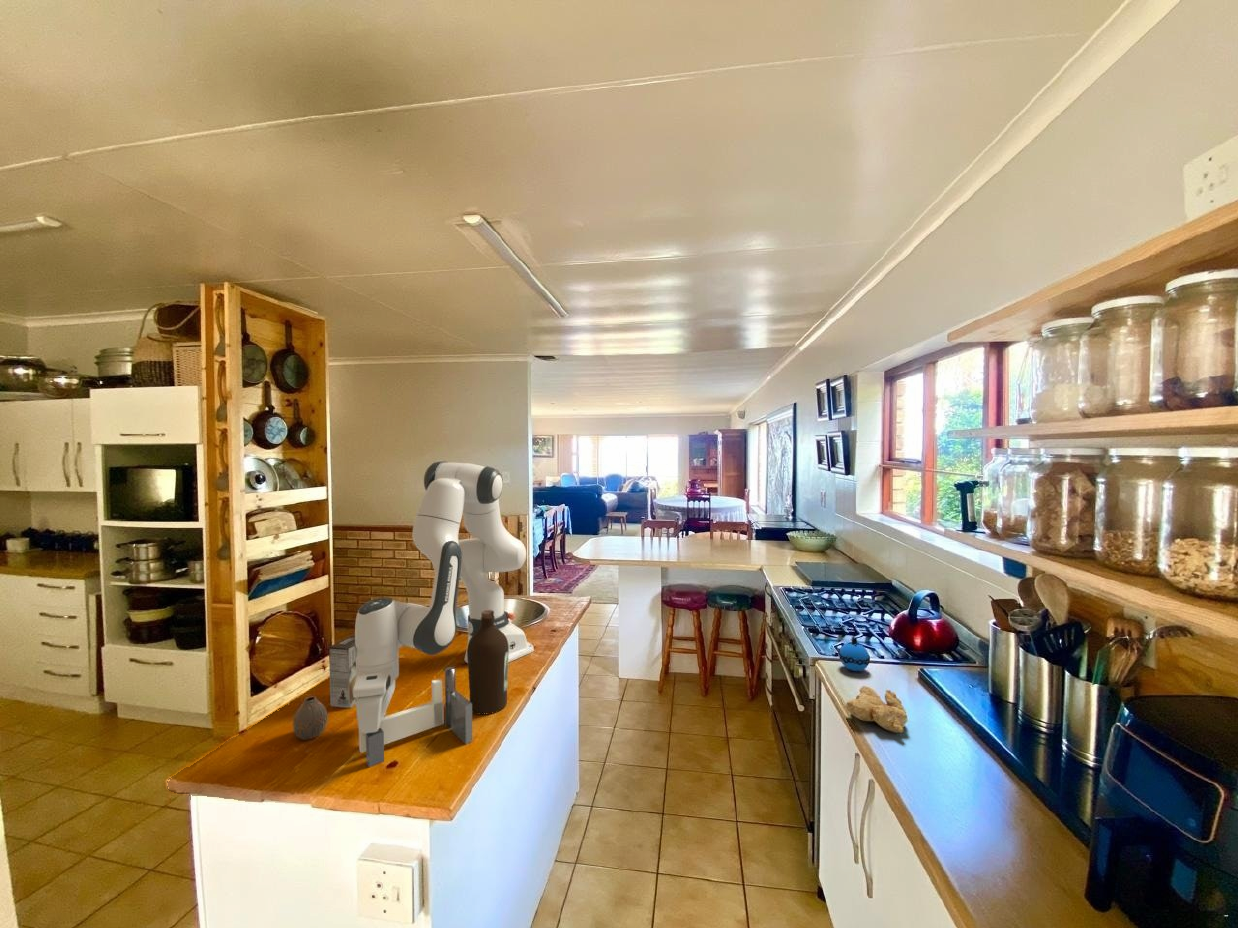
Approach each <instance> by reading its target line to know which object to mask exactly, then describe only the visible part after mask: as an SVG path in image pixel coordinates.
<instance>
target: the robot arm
mask: <svg viewBox="0 0 1238 928" xmlns="http://www.w3.org/2000/svg"><path fill="white" fill-rule="evenodd" d="M423 486H424V490H425V492H424V495H422V499H421V501H420V504H419V507H418V509H417V513H416V515H415V519H414V523H413V526H412V533H411V534H412V535H411V536H412V541H413V543H414V546H415V547H416V548H417V549H418V551H419V552H421V553H422V554H423V555H424V556H425V557H427V559H428V560H429V561H430V562H431V564H432V566H433V570H434V578H433V585H432V592H431V598H430V605H429V606H425V605H421V604H418V603H413V602H403V601H402V602H401V601H397V600H395V599H393V598H392V597H389V596H388V597H386V596H384V597H378V598H374V599H371V600H369V601H366V602H365V603H363V604H362V605H361V606H360V607H359V609H358V611H357V613H356V617H355V624H354V625H355V626H354V628H355V629H354V635H355V645H356V648H357V658H356V680H355V684H354V688H353V697H354V698H355V697H357V700H356V705H355V706H356V707H355V709H356V720H357V728H358V732H359V731H360V733H361V734H366V733H373V732H377V731H378V730H379V727H380V724H381V722H382V720H383V717H385V716H386V715H387V714H386V712H387V709H388V707H389V705H390V702H391V700H392V697H393V695H394V692H395V689H396V680H397V678H399V676H400V660H399V659H400V658H399V649H401V648H402V647H404V646H405V647H408V648H413V649H416V650H417V651H419V652H421V653H423V654H426V655H428V656H435V655H437V654H440V653H441V652H443V651H445V650H446V649H447V648H448V647H449V646H450V645H451V644H452V643H453V640H454V639H455V637H456V634H457V633H456V632H457V624H458V623H457V603H458V596H459V589H460V587H459V586H460V581H462V582H463V584H464V586H465V589H466V593H467V597H468V615H467V634H468V639H467V640H468V641H467V647H466V649H467V648H468V644H469V641H470V639H471V638H472V636H473V635H474V634H475V633H476V632H477V631H478V630H479V628H480V627H481V617H482V612H483V611H485V610H493V611H494V625H495V626H496V627H497V628H498V629H499V630H500V631H501V632H502V633H503V634H504V635H505V636H506V638H507V641H508V645H509V654H508V664H509V663H511V662H513V661H515V660H517V659H520V658H522V657H524V656H527V655H528V654H530V653H533V652H534V646H533V644H532V643H531V642H529V641H527V637H526V634H525V632H524V631H523V629H522V628H520V627H518V626H517V625H516V624H513V623H512V622H510V621H512V620H513V621H514V620H515V617H516V615H515V614H514V613H513V612H508V611H505V597H504V595H505V594H504V593H505V591H504V589H503V588H502V586H501V585H500V584H499V583H496V582H494V581H492V580H490V579H489V578H488V577H487V575H486V573H506V572H512V571H516V570H519V569H521V568H522V567H523V566H524V564H525V562H526V559H527V549H526V546H525V545H524V543H523V541H521V540H520V539H519V538H517V537H515V536H513V535H512V534H511V533H510V532H509V531H508V530H507V529H506V528H505V526H504V524H503V521H502V516H501V510H500V507H501V506H500V499H499V498H500V497H501V495H502V492H503V487H504V479H503V476H502V474H501V473H500V471H499V470H498V469H496V468H494V467H492V466H483V465H479V464H475V463H469V462H451V461H450V462H449V461H446V460H445V461H435V462H433V463H431V465H430V466H428V467H427V468H426V471H425V472H424V474H423ZM462 518H463V524H464V528H465V530H466V531H467V532H468V534H469V535H470V536H472V537H473V538H465V539H464V538H463V539H459V532H460V527H461V522H462ZM463 660H464V662H465V663H467V664H468V658H467V650H466V651H465V656H464V658H463Z"/></svg>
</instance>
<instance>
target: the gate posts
mask: <svg viewBox="0 0 1238 928" xmlns="http://www.w3.org/2000/svg"><path fill="white" fill-rule="evenodd" d="M444 699H445V700H444V702H445V703H444V707H445V710H444V711H445V714H444V715H445V718H444V720H445V722H444V723H445V725H444V726H445V728H446V729H450V731H451V732H452V733H453V734H454V735H456V737H457V738H458V739H460V740H461V742H462V743H464V744H465V745H469V744H470V743H469V742H471V741H472V742H473V711H472V703H471V702H470V699H468V698H466V697H465V696H464V695H462V694H461V693H460V692H459V691H458V690H456V667H454V666H448V667H446V668H445V669H444ZM472 742H471V743H472ZM365 753H366V754H365V757H366V758H365V760H366V762H365V763H366V765H367V766H368V767H369V768H371V767H373V766H376V765H379V764H381V763H383V762H385V745H384V731H383V730H382V729H381V728H379V730H378V731H377V732H373V733H366V751H365Z"/></svg>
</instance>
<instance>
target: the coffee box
mask: <svg viewBox="0 0 1238 928" xmlns="http://www.w3.org/2000/svg"><path fill="white" fill-rule="evenodd" d="M328 657H329V661H328V663H329V667H328V668H329V694H330V695H329V696H330V698H329V699H330V700H329V702H330V705H329V706H330V707H336V708H344V709H345V708H346V709H351V708H352V707H354V706H356V700H357V697H355V698H354V697H353V688H354V684H355V680H356V658H357V648H356V645H355V634H352V635H350V636H348V637H346V638H344V639H342V640H340V641H338V642H336V643H334V644H331V645H330V646H328Z"/></svg>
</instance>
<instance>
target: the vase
mask: <svg viewBox="0 0 1238 928" xmlns="http://www.w3.org/2000/svg"><path fill="white" fill-rule="evenodd" d="M327 722H328V711H327V709H326V707H325V705H324V704H323V703H322V702H321V701H320V700H318V698H317V697H316V696H313V695H311V696H308V697H305V698H304V700H303V702H302V704H301V705H300V706H299V707H298V709H297V711H296V712H295V715H294V717H293V722H292V728H293V729H292V730H293V732H294V734H295V735H296V737H298V738H299V739H300V740H305V741H306V740H307V741H308V740H311V739H315V738H317V737H318V736H319V735H321V733H323V731H324V730H325V728H326V726H327V724H328V723H327Z"/></svg>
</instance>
